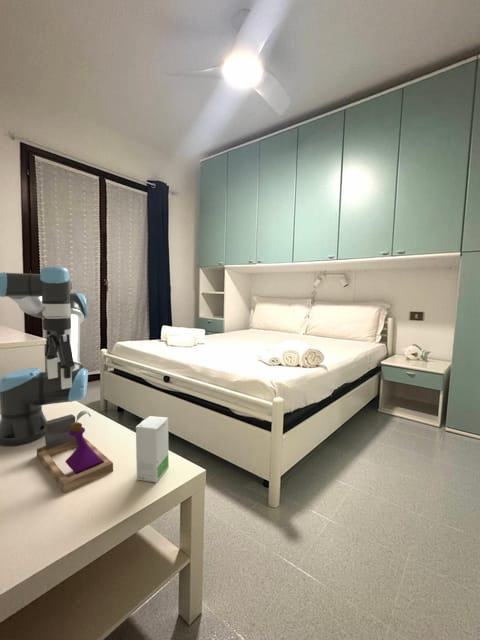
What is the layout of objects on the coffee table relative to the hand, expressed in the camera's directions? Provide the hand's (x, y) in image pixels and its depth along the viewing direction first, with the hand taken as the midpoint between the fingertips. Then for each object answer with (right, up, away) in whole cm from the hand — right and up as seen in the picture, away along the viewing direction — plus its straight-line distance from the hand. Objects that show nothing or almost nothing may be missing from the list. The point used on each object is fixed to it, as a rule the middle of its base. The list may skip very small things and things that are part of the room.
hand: (59, 382), depth 95 cm
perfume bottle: (+13, -24, -9) cm, 29 cm away
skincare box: (+33, -25, -9) cm, 42 cm away
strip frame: (+8, -23, -5) cm, 25 cm away
